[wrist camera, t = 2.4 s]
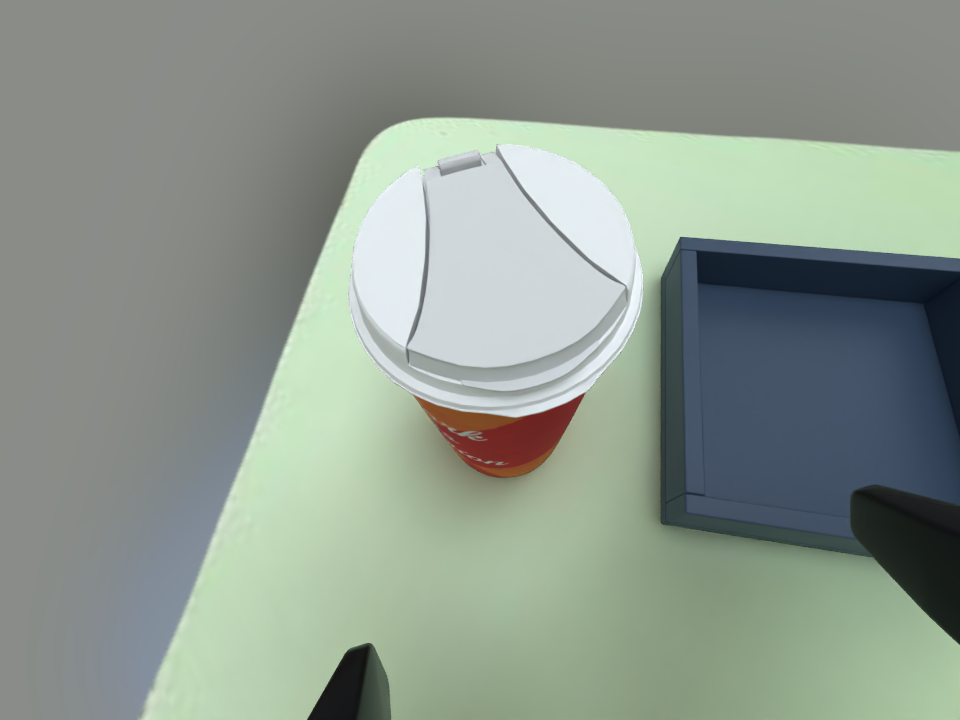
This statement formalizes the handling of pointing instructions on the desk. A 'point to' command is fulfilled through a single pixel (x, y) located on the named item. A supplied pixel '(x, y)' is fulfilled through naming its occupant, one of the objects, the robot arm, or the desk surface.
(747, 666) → the desk surface
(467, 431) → the paper cup
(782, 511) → the open square box
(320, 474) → the desk surface
